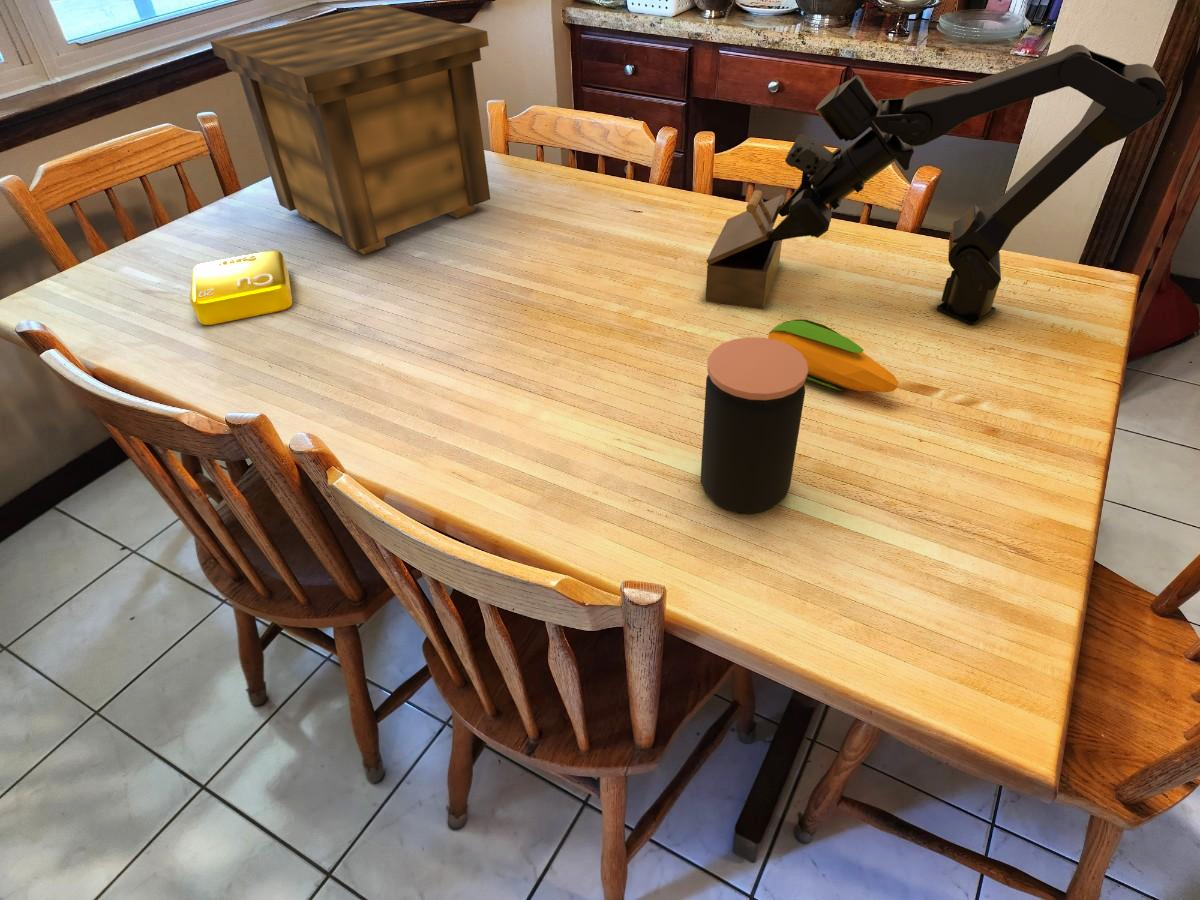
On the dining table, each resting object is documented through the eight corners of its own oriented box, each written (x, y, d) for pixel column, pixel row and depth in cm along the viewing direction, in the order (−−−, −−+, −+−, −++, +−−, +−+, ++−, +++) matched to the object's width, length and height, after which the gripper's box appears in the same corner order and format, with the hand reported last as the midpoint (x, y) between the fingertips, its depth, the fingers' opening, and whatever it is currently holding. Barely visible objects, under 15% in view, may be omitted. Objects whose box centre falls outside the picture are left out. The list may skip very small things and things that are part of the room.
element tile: (288, 269, 143) (280, 245, 140) (293, 309, 133) (285, 283, 130) (200, 286, 140) (190, 262, 137) (199, 328, 129) (187, 302, 126)
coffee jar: (778, 455, 100) (796, 333, 88) (797, 515, 92) (819, 390, 80) (694, 460, 100) (700, 338, 88) (706, 520, 92) (714, 396, 80)
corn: (787, 298, 114) (919, 347, 103) (783, 341, 119) (908, 392, 109) (757, 323, 110) (891, 375, 100) (755, 366, 116) (881, 421, 105)
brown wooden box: (779, 264, 138) (783, 229, 134) (762, 309, 127) (766, 273, 123) (726, 257, 140) (728, 223, 136) (705, 301, 129) (707, 265, 125)
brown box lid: (785, 198, 130) (772, 172, 128) (768, 239, 119) (754, 212, 117) (729, 223, 136) (716, 199, 134) (708, 265, 125) (694, 239, 123)
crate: (267, 216, 162) (210, 40, 140) (412, 166, 179) (380, 4, 158) (355, 271, 142) (303, 77, 121) (508, 209, 159) (487, 31, 138)
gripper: (832, 99, 120) (753, 165, 130) (815, 143, 107) (729, 212, 117) (876, 156, 123) (796, 216, 133) (865, 205, 110) (777, 267, 120)
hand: (775, 226), depth 126 cm, fingers open, 9 cm apart
